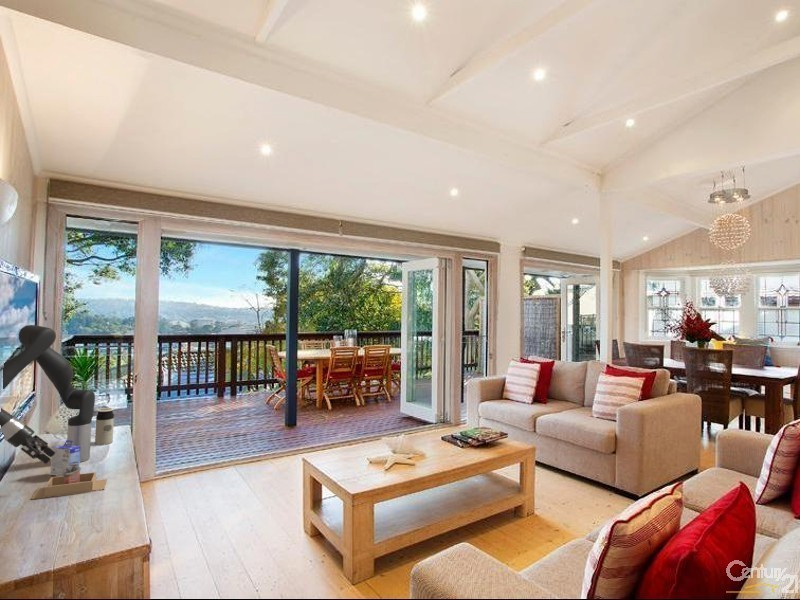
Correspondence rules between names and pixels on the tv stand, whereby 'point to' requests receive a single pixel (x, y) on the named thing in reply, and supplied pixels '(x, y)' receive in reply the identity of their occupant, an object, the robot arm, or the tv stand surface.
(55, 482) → the mailer box
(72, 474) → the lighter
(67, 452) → the ink cartridge box
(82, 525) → the tv stand surface
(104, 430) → the travel mug
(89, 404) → the robot arm
